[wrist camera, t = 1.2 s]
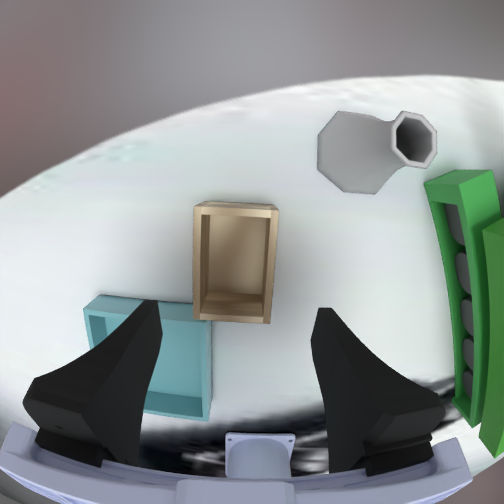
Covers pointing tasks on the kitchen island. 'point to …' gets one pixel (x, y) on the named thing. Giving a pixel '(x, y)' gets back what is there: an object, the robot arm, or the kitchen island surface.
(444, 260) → the tank
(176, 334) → the teal crate
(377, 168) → the flask
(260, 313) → the birch crate
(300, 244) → the kitchen island surface
